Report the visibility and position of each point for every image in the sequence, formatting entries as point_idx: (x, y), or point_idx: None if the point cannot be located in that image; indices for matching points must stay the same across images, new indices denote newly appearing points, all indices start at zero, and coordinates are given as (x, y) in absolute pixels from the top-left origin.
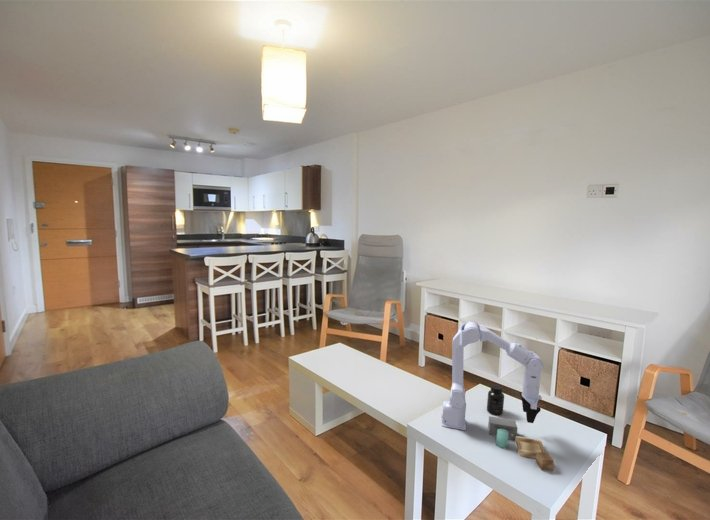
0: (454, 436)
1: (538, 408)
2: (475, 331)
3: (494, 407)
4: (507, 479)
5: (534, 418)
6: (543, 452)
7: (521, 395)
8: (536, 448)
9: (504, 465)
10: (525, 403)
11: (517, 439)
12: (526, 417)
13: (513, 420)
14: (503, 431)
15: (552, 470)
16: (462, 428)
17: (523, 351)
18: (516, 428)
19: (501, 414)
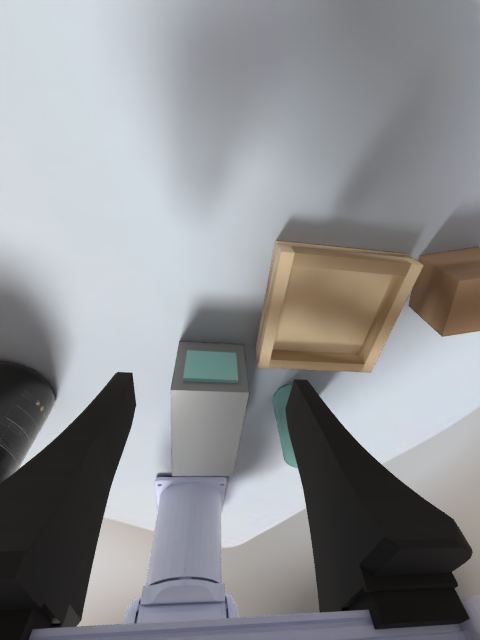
0: (264, 494)
1: (439, 560)
2: None
3: (34, 435)
4: (471, 407)
5: (332, 417)
6: (452, 304)
7: (74, 619)
8: (329, 283)
9: (408, 405)
10: (104, 477)
11: (287, 365)
12: (291, 443)
13: (173, 396)
14: None
15: (478, 248)
16: (223, 486)
17: None
18: (248, 390)
19: (27, 369)
